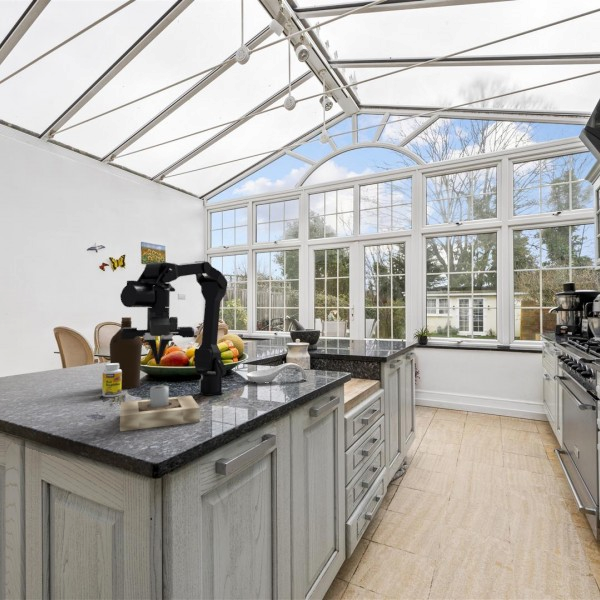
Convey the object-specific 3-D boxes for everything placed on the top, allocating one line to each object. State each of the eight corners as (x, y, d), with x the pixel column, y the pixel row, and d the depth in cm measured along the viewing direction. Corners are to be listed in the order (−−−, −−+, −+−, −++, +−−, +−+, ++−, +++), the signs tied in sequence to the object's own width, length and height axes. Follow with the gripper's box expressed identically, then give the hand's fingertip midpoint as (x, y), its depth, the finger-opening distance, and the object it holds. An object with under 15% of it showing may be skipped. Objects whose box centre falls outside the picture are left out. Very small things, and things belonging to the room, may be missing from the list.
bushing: (167, 415, 99) (167, 384, 99) (169, 419, 95) (169, 387, 95) (149, 417, 97) (149, 385, 97) (150, 421, 93) (150, 389, 93)
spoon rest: (248, 386, 136) (248, 367, 137) (244, 380, 148) (244, 362, 148) (310, 383, 142) (310, 364, 143) (302, 378, 154) (302, 360, 154)
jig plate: (190, 407, 106) (191, 395, 106) (199, 421, 93) (199, 407, 93) (120, 415, 98) (121, 402, 99) (120, 431, 86) (120, 416, 86)
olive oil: (137, 389, 130) (137, 317, 130) (104, 390, 128) (105, 317, 129) (144, 383, 140) (145, 317, 141) (114, 384, 139) (115, 317, 139)
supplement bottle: (103, 398, 117) (103, 365, 117) (101, 394, 122) (101, 363, 122) (122, 396, 120) (123, 364, 120) (120, 392, 125) (120, 362, 125)
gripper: (120, 307, 92) (119, 370, 91) (198, 307, 99) (197, 366, 99) (121, 307, 102) (120, 364, 101) (191, 307, 110) (190, 360, 109)
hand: (157, 364), depth 103 cm, fingers closed
